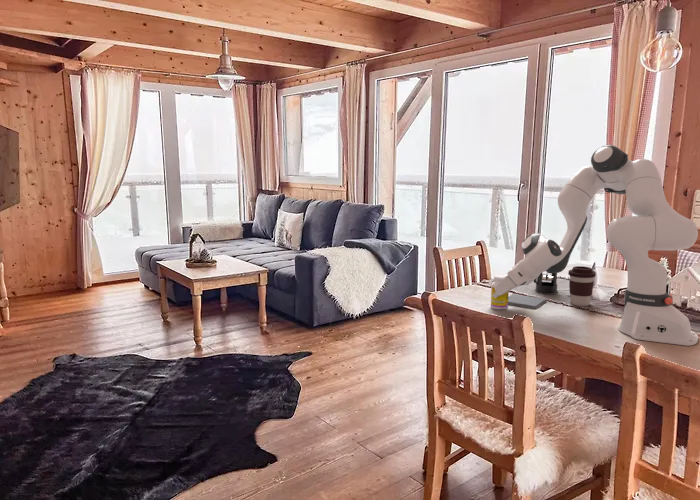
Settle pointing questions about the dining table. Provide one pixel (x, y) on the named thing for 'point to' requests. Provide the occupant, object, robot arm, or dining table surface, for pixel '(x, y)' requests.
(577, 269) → the coffee cup
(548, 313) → the dining table surface
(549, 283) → the french press
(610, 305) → the dining table surface
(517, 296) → the mat
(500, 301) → the supplement bottle
